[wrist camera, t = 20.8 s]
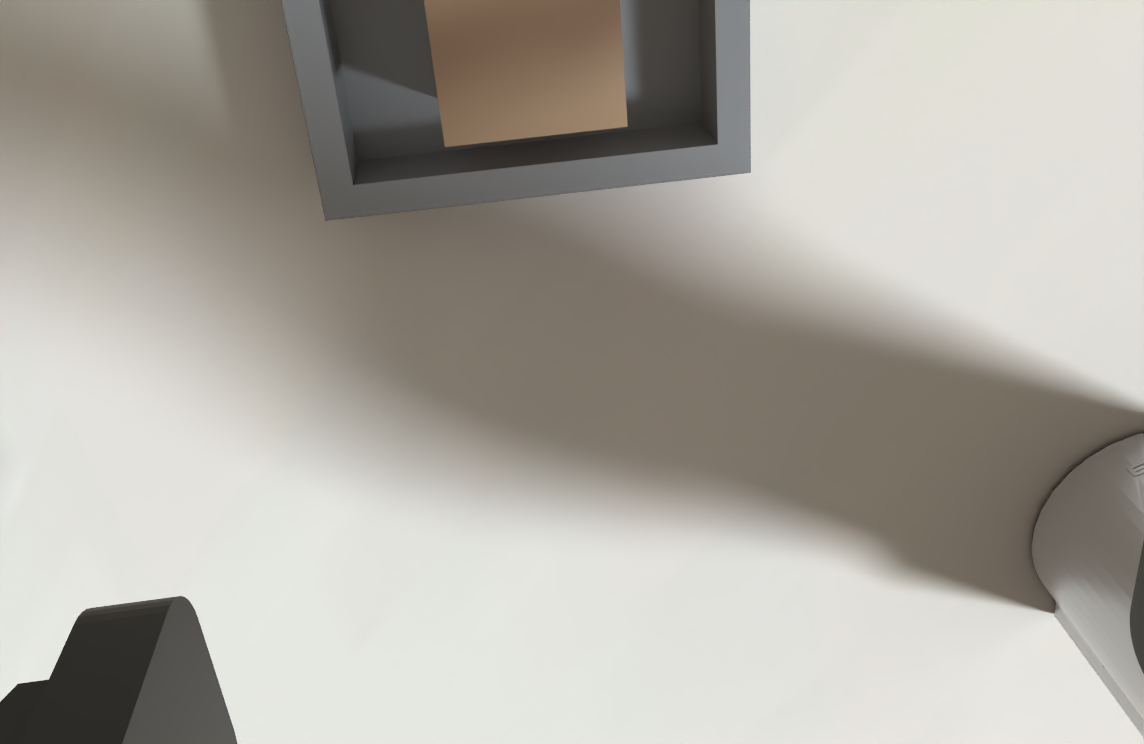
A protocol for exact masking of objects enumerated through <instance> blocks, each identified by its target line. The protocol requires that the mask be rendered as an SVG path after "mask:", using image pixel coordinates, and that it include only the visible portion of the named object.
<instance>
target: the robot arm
mask: <svg viewBox="0 0 1144 744" xmlns="http://www.w3.org/2000/svg"><path fill="white" fill-rule="evenodd" d="M1032 556H1033V563H1034V567H1035V569H1036V572H1037V574H1038V576H1039V578H1040V580H1041V582H1042V583H1043V585H1044V586H1045V587H1046V589H1047V590H1048V591H1049V593H1050V594H1051V595H1052V597H1053V598H1054V599H1055V601H1056V607H1055V613H1054V614H1055V617H1056V618H1057V620H1058V621H1059V623H1060V624H1061V625H1062V627H1063V628H1064V629H1065V631H1066V632H1067V634H1068V635H1069V636H1070V638H1071V639H1072V640H1073V642H1074V643H1075V644H1076V646H1077V647H1078V649H1079V650H1080V651H1081V653H1082V654H1083V655H1084V657H1085V658H1086V660H1087V661H1088V662H1089V664H1090V665H1091V666H1092V668H1093V669H1094V670H1095V672H1096V673H1097V675H1098V676H1099V677H1100V679H1101V680H1102V681H1103V683H1104V684H1105V686H1106V687H1107V688H1108V690H1109V691H1110V692H1111V694H1112V695H1113V696H1114V698H1115V699H1116V701H1117V702H1118V703H1119V705H1120V706H1121V707H1122V709H1123V710H1124V712H1125V713H1126V714H1127V716H1128V717H1129V718H1130V720H1131V721H1132V722H1133V724H1134V725H1135V727H1136V728H1137V729H1138V731H1139V732H1140V733H1141V735H1142V736H1143V738H1144V433H1141V434H1136V435H1133V436H1131V437H1128V438H1126V439H1123V440H1121V441H1118V442H1115V443H1113V444H1111V445H1109V446H1107V447H1106V448H1104V449H1102V450H1100V451H1099V452H1097V453H1095V454H1094V455H1092V456H1090V457H1089V458H1087V459H1086V460H1085V461H1084V462H1082V463H1081V464H1080V465H1079V466H1077V467H1076V468H1075V469H1074V470H1072V471H1071V472H1070V473H1069V474H1068V475H1067V476H1066V477H1065V478H1064V480H1063V481H1062V482H1061V483H1060V484H1059V485H1058V486H1057V487H1056V488H1055V490H1054V491H1053V492H1052V494H1051V495H1050V497H1049V499H1048V500H1047V502H1046V503H1045V505H1044V507H1043V508H1042V510H1041V512H1040V515H1039V518H1038V520H1037V523H1036V526H1035V528H1034V533H1033V541H1032ZM0 744H237V741H236V736H235V732H234V729H233V726H232V722H231V719H230V716H229V713H228V710H227V707H226V704H225V701H224V698H223V695H222V691H221V688H220V685H219V682H218V679H217V676H216V673H215V670H214V667H213V664H212V660H211V657H210V654H209V651H208V648H207V645H206V642H205V639H204V636H203V633H202V629H201V626H200V623H199V620H198V617H197V615H196V612H195V610H194V608H193V606H192V604H191V603H190V602H189V600H188V599H186V598H185V597H182V596H178V597H171V598H163V599H156V600H148V601H141V602H133V603H126V604H118V605H111V606H103V607H96V608H89V609H86V610H85V611H83V612H82V613H81V614H80V615H79V617H78V618H77V620H76V622H75V624H74V626H73V628H72V630H71V632H70V634H69V637H68V639H67V641H66V643H65V646H64V648H63V650H62V652H61V654H60V657H59V659H58V661H57V663H56V665H55V668H54V670H53V672H52V674H51V676H50V679H49V680H43V681H36V682H29V683H21V684H17V686H16V687H15V688H14V689H13V690H12V691H11V692H10V693H9V694H8V695H7V696H6V697H5V698H4V699H3V700H2V701H1V702H0Z"/></svg>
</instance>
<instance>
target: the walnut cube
mask: <svg viewBox="0 0 1144 744" xmlns="http://www.w3.org/2000/svg"><path fill="white" fill-rule="evenodd" d="M424 5H425V12H426V19H427V26H428V33H429V40H430V47H431V54H432V61H433V68H434V75H435V82H436V89H437V96H438V102H439V109H440V116H441V123H442V130H443V137H444V144H445V147H451V146H460V145H469V144H478V143H487V142H496V141H505V140H514V139H523V138H532V137H541V136H550V135H558V134H567V133H576V132H585V131H594V130H603V129H612V128H621V127H628V124H627V108H626V91H625V75H624V59H623V43H622V27H621V10H620V0H424Z"/></svg>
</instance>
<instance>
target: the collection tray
mask: <svg viewBox="0 0 1144 744" xmlns="http://www.w3.org/2000/svg"><path fill="white" fill-rule="evenodd" d="M281 2H282V7H283V11H284V16H285V21H286V26H287V31H288V36H289V41H290V46H291V51H292V56H293V61H294V66H295V71H296V76H297V81H298V86H299V91H300V96H301V101H302V106H303V111H304V116H305V121H306V126H307V131H308V136H309V141H310V146H311V151H312V156H313V160H314V165H315V170H316V175H317V180H318V185H319V190H320V195H321V200H322V205H323V210H324V215H325V220H335V219H344V218H353V217H361V216H370V215H379V214H388V213H397V212H406V211H415V210H424V209H432V208H441V207H450V206H459V205H468V204H477V203H486V202H494V201H503V200H512V199H521V198H530V197H539V196H548V195H557V194H565V193H574V192H583V191H592V190H601V189H610V188H619V187H627V186H636V185H645V184H654V183H663V182H672V181H681V180H690V179H698V178H707V177H716V176H725V175H734V174H743V173H751V147H750V0H620V10H621V27H622V43H623V59H624V75H625V91H626V108H627V124H628V127H621V128H612V129H603V130H594V131H585V132H576V133H567V134H558V135H550V136H541V137H532V138H523V139H514V140H505V141H496V142H487V143H478V144H469V145H460V146H451V147H445V144H444V137H443V130H442V123H441V116H440V109H439V102H438V96H437V89H436V82H435V75H434V68H433V61H432V54H431V47H430V40H429V33H428V26H427V19H426V12H425V5H424V0H281Z"/></svg>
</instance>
